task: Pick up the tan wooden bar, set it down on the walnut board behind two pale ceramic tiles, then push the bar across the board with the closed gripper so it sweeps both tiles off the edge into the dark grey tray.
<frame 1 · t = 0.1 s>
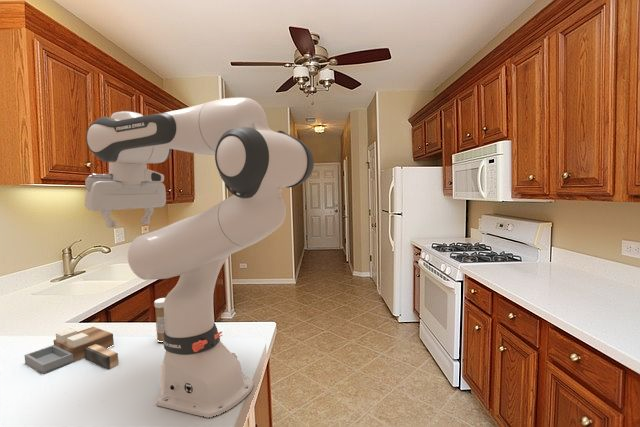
hand: (129, 225, 91), 39 cm above the counter, tool pointing down, fingers open, 8 cm apart
board: (84, 349, 102), on the counter
tile b: (67, 338, 101), point 4 cm above the counter, touching board
tile a: (78, 343, 97), point 4 cm above the counter, touching board
tray: (49, 362, 94), on the counter
tan wooden bar: (101, 362, 94), on the counter
sprinkles bottle: (164, 341, 107), on the counter
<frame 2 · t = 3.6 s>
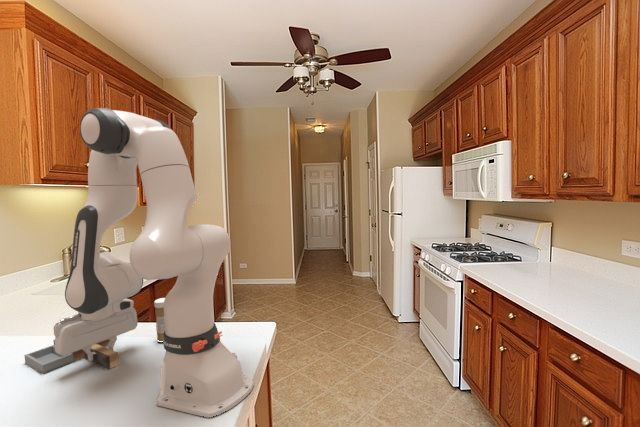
hand: (101, 356, 94), 2 cm above the counter, tool pointing down, fingers closed on tan wooden bar, 3 cm apart
tan wooden bar: (101, 362, 94), on the counter, touching gripper
everything else where it was.
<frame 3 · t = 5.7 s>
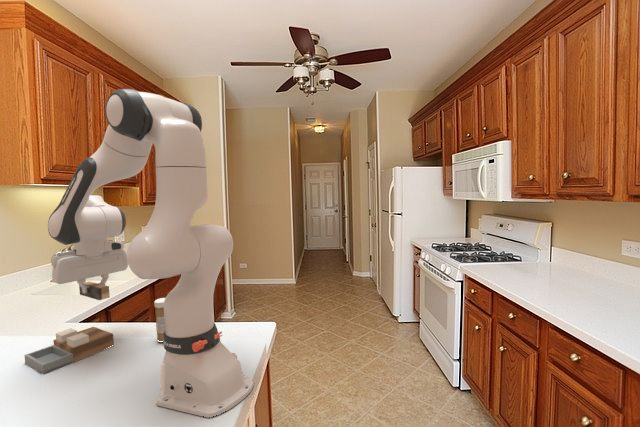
hand: (94, 290, 104), 17 cm above the counter, tool pointing down, fingers closed on tan wooden bar, 3 cm apart
tan wooden bar: (94, 296, 104), point 16 cm above the counter, touching gripper
everything else where it was.
when the fingers open (6 cm above the counter, at t = 7.6 s): tan wooden bar stays where it is, resting on board.
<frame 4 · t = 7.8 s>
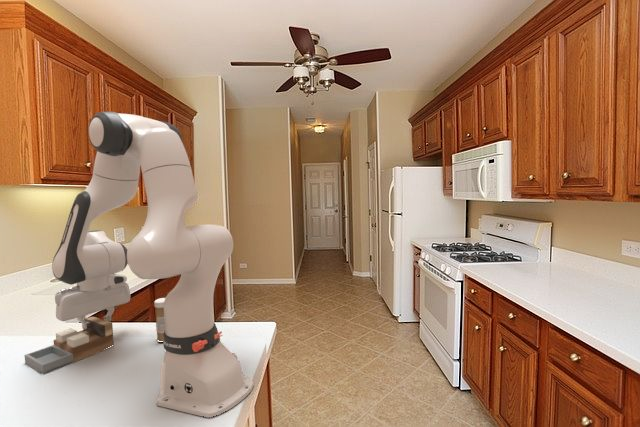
hand: (97, 324, 105), 6 cm above the counter, tool pointing down, fingers open, 5 cm apart
tan wooden bar: (97, 331, 105), point 4 cm above the counter, touching board
everything else where it was.
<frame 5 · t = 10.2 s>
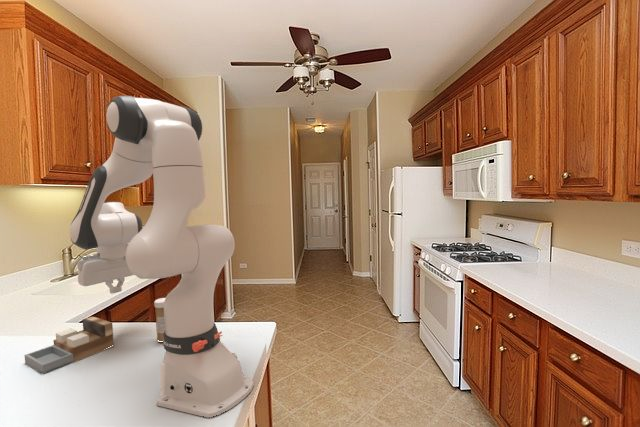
hand: (115, 292, 110), 15 cm above the counter, tool pointing down, fingers closed
nothing on the counter moved.
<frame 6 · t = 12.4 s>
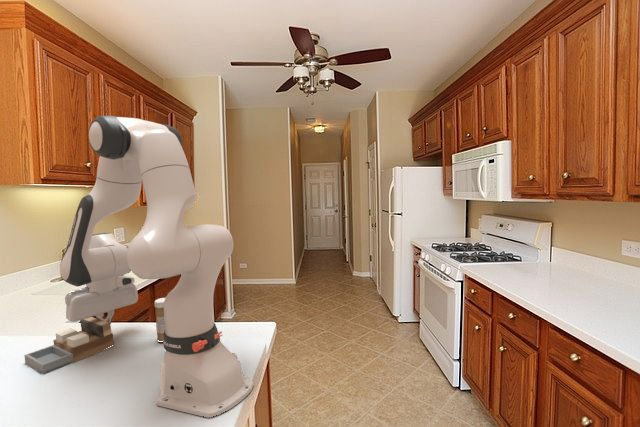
hand: (105, 325, 107), 5 cm above the counter, tool pointing down, fingers closed
tan wooden bar: (96, 332, 105), point 4 cm above the counter, touching board, gripper
everything else where it was.
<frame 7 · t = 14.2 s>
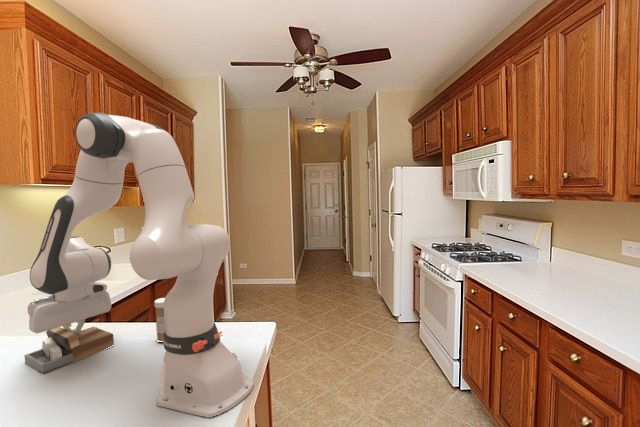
hand: (74, 335, 100), 5 cm above the counter, tool pointing down, fingers closed
tile b: (53, 345, 97), point 3 cm above the counter, tilted 95°, touching tray
tile a: (60, 354, 94), point 2 cm above the counter, tilted 90°, touching tray
tan wooden bar: (64, 343, 98), point 4 cm above the counter, tilted 11°, touching board, gripper
everything else where it was.
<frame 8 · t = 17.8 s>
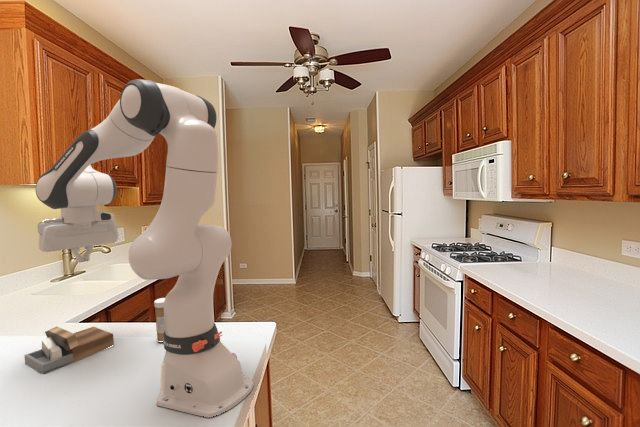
hand: (83, 261, 101), 27 cm above the counter, tool pointing down, fingers closed
tile b: (53, 345, 97), point 3 cm above the counter, tilted 98°, touching tan wooden bar, tray
tan wooden bar: (63, 343, 97), point 4 cm above the counter, tilted 11°, touching board, tile b
everything else where it was.
at the end: tile a inside the target area on the tray (3.4 cm from its centre), point 2.5 cm above the tray's base; tile b inside the target area on the tray (3.5 cm from its centre), point 3.5 cm above the tray's base; the gripper is holding nothing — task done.
